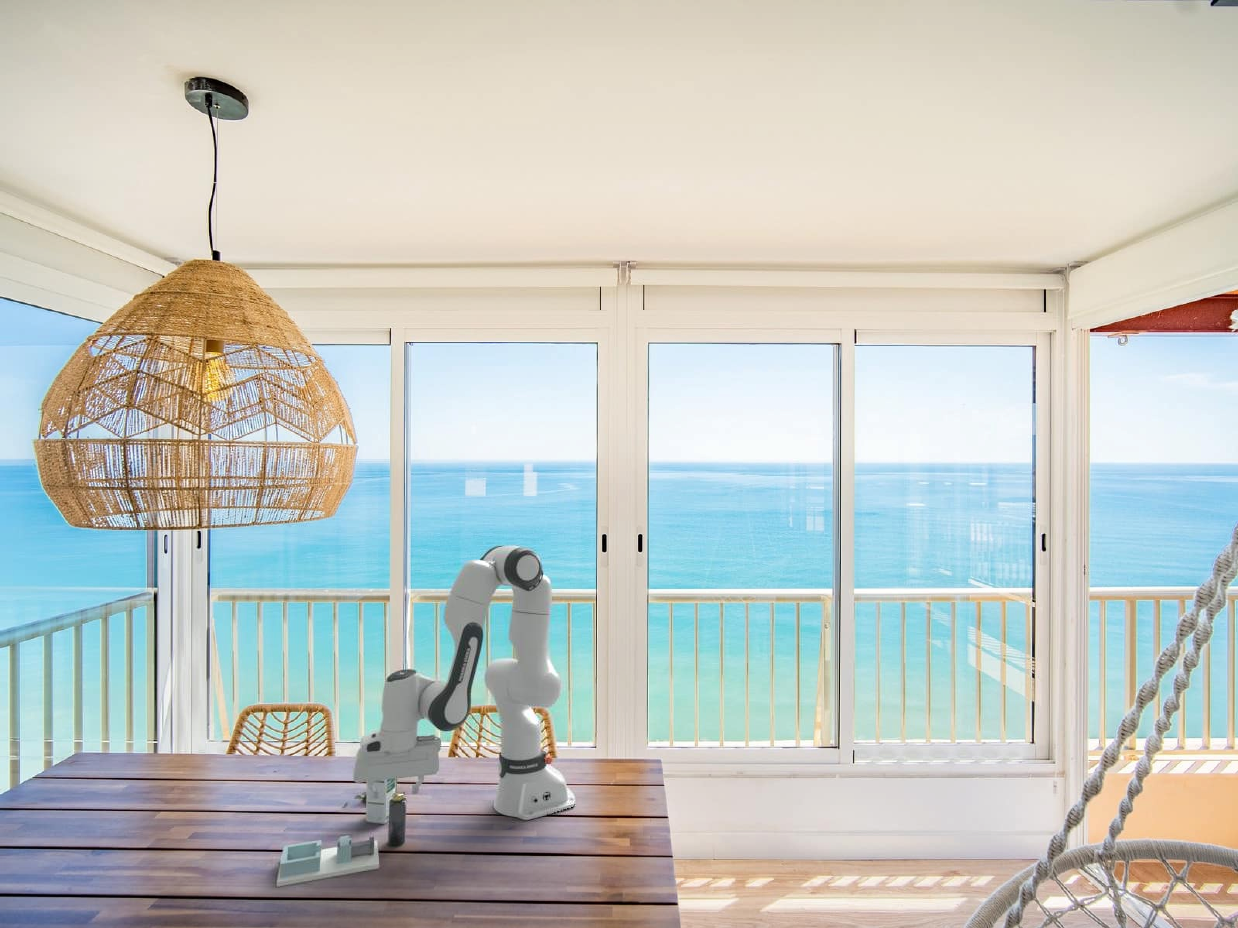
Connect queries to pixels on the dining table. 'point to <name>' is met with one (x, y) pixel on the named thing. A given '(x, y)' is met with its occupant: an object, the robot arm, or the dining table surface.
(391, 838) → the dark grey gold-tipped cylinder
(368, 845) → the pin
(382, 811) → the syrup box
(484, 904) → the dining table surface
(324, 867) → the dock
